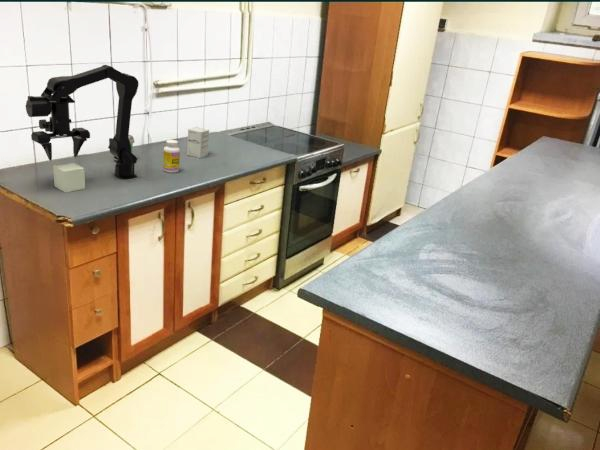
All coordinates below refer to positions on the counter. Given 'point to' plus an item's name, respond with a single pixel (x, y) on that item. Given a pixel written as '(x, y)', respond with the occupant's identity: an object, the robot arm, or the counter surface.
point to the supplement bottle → (171, 157)
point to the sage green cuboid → (69, 177)
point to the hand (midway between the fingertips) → (62, 158)
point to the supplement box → (197, 142)
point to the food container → (130, 143)
